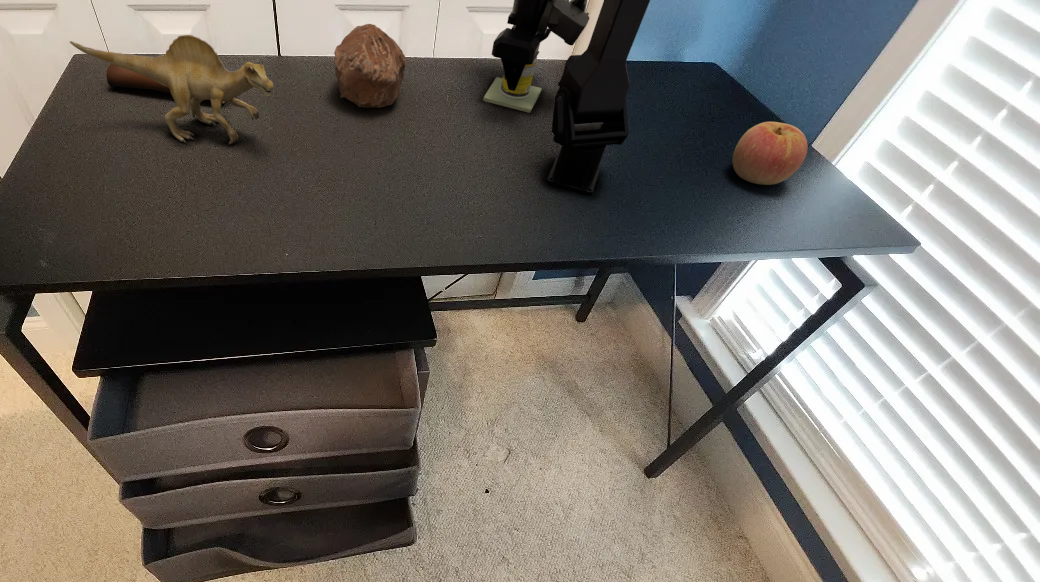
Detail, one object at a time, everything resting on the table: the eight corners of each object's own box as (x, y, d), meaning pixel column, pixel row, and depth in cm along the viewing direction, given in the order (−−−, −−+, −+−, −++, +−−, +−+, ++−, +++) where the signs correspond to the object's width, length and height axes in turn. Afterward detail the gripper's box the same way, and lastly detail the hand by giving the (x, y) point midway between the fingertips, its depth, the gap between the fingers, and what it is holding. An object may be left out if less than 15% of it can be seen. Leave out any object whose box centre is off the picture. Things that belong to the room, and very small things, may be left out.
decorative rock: (340, 74, 100) (340, 9, 93) (406, 81, 100) (411, 18, 92) (327, 113, 92) (325, 46, 84) (399, 121, 92) (404, 55, 84)
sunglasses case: (239, 78, 96) (226, 51, 89) (230, 118, 95) (217, 93, 88) (131, 63, 97) (111, 35, 90) (121, 102, 96) (100, 77, 89)
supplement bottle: (495, 87, 100) (505, 34, 93) (520, 85, 101) (532, 32, 94) (507, 101, 97) (518, 48, 91) (533, 99, 98) (546, 46, 92)
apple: (790, 199, 86) (825, 149, 80) (728, 189, 86) (757, 139, 80) (776, 166, 91) (808, 117, 85) (718, 157, 92) (745, 107, 86)
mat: (529, 113, 96) (530, 109, 96) (482, 100, 98) (483, 97, 97) (540, 91, 101) (541, 88, 101) (495, 80, 103) (496, 76, 102)
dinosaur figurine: (278, 158, 84) (268, 61, 73) (98, 130, 85) (64, 31, 75) (293, 129, 88) (286, 35, 78) (123, 103, 90) (93, 7, 79)
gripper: (582, 11, 79) (551, 122, 91) (604, -32, 90) (574, 71, 102) (501, -7, 81) (481, 104, 93) (533, -47, 92) (511, 56, 104)
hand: (515, 83), depth 98 cm, fingers closed on supplement bottle, 5 cm apart
